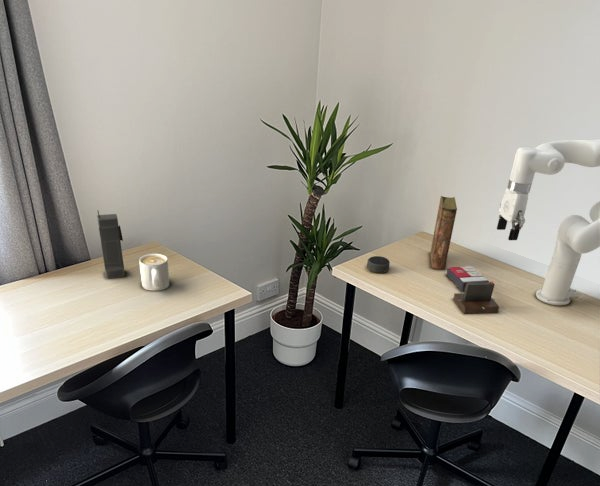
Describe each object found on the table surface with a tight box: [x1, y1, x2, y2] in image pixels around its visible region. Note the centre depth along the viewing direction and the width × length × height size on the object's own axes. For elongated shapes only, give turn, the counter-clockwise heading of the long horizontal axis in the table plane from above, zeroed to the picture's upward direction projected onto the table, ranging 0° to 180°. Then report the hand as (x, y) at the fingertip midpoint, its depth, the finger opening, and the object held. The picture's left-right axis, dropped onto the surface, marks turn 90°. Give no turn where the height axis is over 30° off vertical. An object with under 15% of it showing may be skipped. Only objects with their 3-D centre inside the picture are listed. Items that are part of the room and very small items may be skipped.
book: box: [429, 195, 458, 271], centre depth 247 cm, size 16×6×25 cm, turn 172°
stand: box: [452, 292, 500, 315], centre depth 223 cm, size 14×14×3 cm
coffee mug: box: [138, 253, 170, 292], centre depth 221 cm, size 13×10×10 cm
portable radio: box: [96, 211, 126, 279], centre depth 223 cm, size 8×6×25 cm
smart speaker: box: [366, 255, 391, 274], centre depth 244 cm, size 9×9×4 cm
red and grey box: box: [446, 265, 490, 292], centre depth 238 cm, size 11×4×15 cm
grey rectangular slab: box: [463, 281, 496, 301], centre depth 220 cm, size 10×2×7 cm, turn 99°
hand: (506, 234), depth 217 cm, fingers open, 9 cm apart
